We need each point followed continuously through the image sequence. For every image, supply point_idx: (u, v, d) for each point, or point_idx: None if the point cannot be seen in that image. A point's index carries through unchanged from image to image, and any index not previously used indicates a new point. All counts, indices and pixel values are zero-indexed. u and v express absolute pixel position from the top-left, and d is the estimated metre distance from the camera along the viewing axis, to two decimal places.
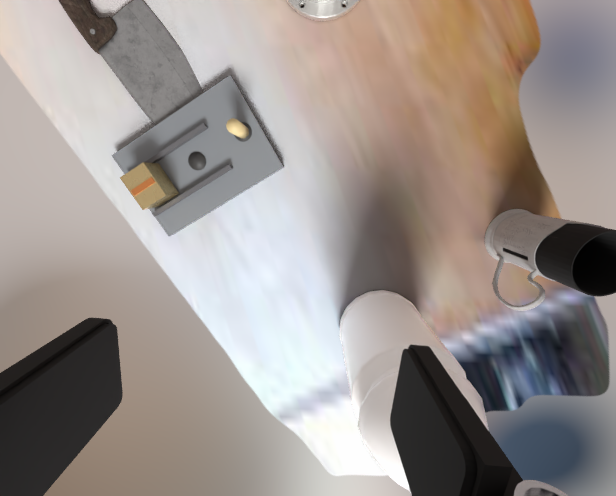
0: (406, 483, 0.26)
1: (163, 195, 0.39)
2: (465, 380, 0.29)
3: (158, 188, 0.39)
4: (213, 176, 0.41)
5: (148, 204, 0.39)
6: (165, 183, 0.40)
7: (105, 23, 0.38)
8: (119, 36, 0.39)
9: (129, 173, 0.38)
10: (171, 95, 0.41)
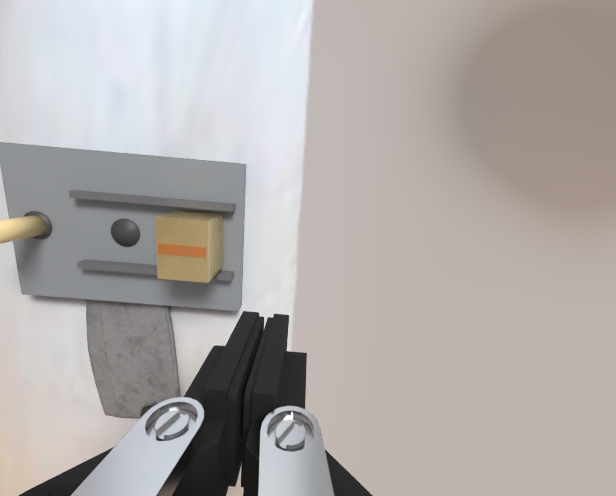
0: None
1: (159, 218, 0.22)
2: None
3: (159, 232, 0.22)
4: (103, 197, 0.24)
5: (192, 222, 0.22)
6: None
7: None
8: (145, 401, 0.31)
9: (189, 278, 0.23)
10: (124, 323, 0.29)
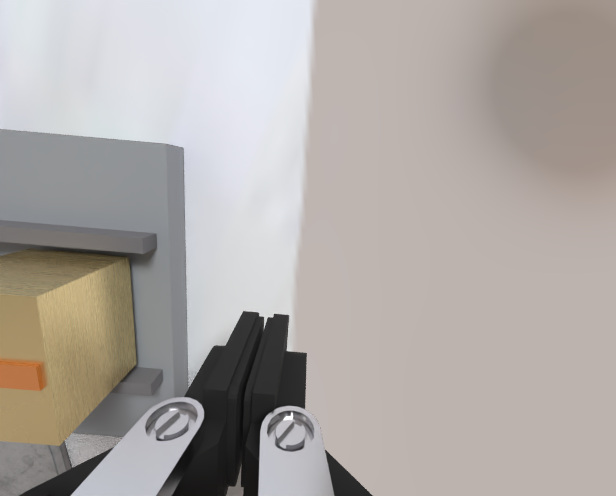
0: None
1: None
2: None
3: None
4: None
5: None
6: None
7: None
8: None
9: (10, 436, 0.09)
10: None
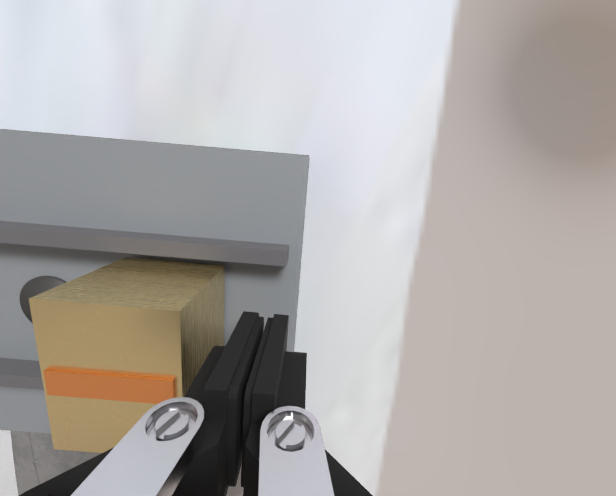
0: None
1: (41, 304, 0.08)
2: None
3: (47, 339, 0.08)
4: None
5: (136, 314, 0.08)
6: None
7: None
8: None
9: None
10: (76, 465, 0.16)
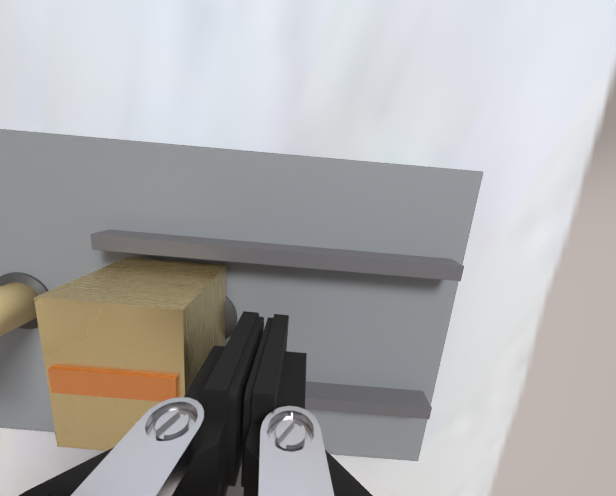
0: None
1: (46, 303, 0.08)
2: None
3: (51, 338, 0.08)
4: (168, 249, 0.11)
5: (140, 313, 0.08)
6: None
7: None
8: None
9: None
10: None
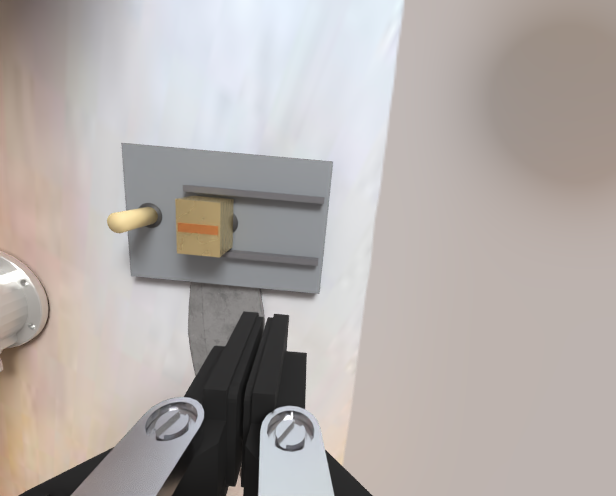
0: None
1: (178, 200, 0.25)
2: None
3: (179, 212, 0.25)
4: (211, 191, 0.28)
5: (207, 203, 0.25)
6: None
7: None
8: None
9: (203, 253, 0.26)
10: (223, 312, 0.33)
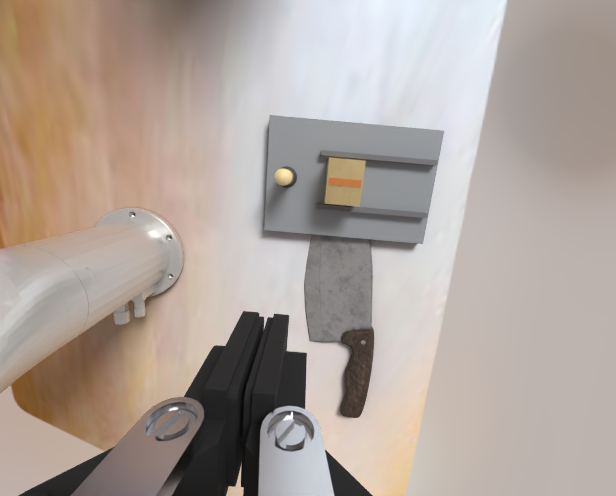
0: None
1: (331, 159, 0.31)
2: None
3: (331, 169, 0.31)
4: (345, 155, 0.34)
5: (355, 161, 0.31)
6: (326, 174, 0.33)
7: (349, 340, 0.41)
8: (345, 327, 0.41)
9: (347, 203, 0.32)
10: (337, 266, 0.40)
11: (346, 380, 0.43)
